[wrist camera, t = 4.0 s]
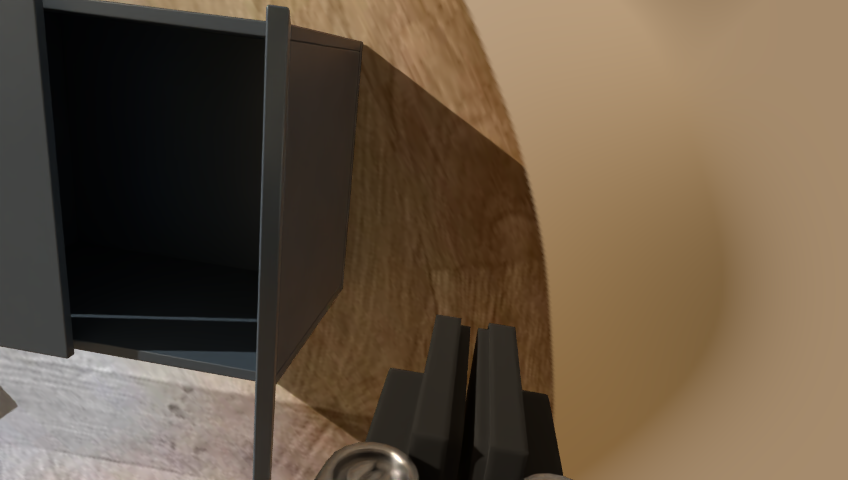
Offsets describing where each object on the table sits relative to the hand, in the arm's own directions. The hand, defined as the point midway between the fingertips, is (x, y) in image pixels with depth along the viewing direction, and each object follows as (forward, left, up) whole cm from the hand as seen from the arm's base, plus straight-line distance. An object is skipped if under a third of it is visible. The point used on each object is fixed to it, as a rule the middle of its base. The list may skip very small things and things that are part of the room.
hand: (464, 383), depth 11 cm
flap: (+4, -4, -4) cm, 7 cm away
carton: (+12, -10, -19) cm, 25 cm away
